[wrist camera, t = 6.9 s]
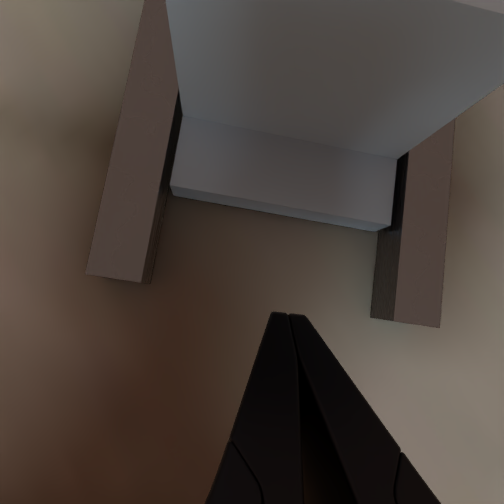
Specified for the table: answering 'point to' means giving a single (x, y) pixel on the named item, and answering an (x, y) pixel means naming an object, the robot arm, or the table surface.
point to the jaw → (322, 97)
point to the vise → (160, 167)
